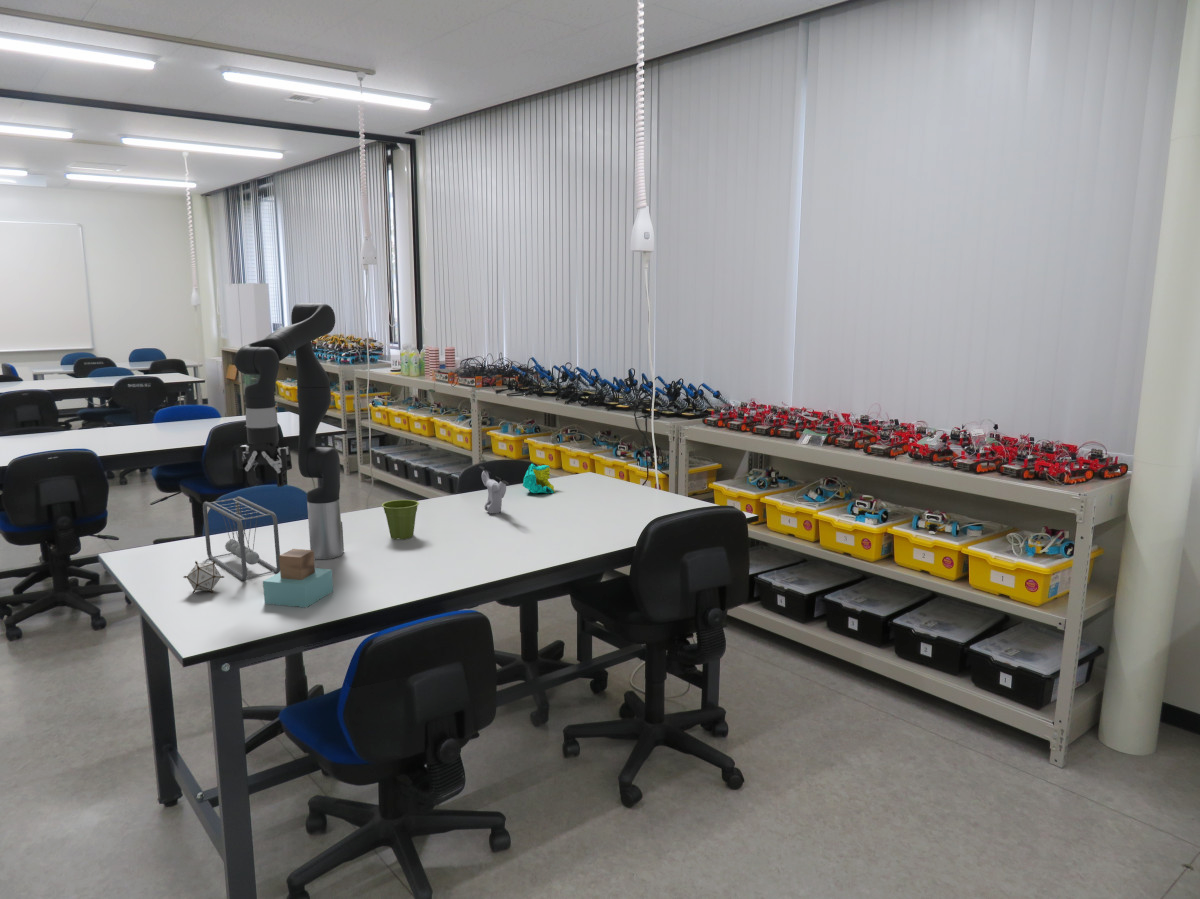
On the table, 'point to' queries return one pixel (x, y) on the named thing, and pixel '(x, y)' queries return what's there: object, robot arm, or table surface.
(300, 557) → the walnut cube
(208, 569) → the game die
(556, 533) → the table surface
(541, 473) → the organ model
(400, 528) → the plant pot
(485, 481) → the figurine
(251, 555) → the newton's cradle
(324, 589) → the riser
